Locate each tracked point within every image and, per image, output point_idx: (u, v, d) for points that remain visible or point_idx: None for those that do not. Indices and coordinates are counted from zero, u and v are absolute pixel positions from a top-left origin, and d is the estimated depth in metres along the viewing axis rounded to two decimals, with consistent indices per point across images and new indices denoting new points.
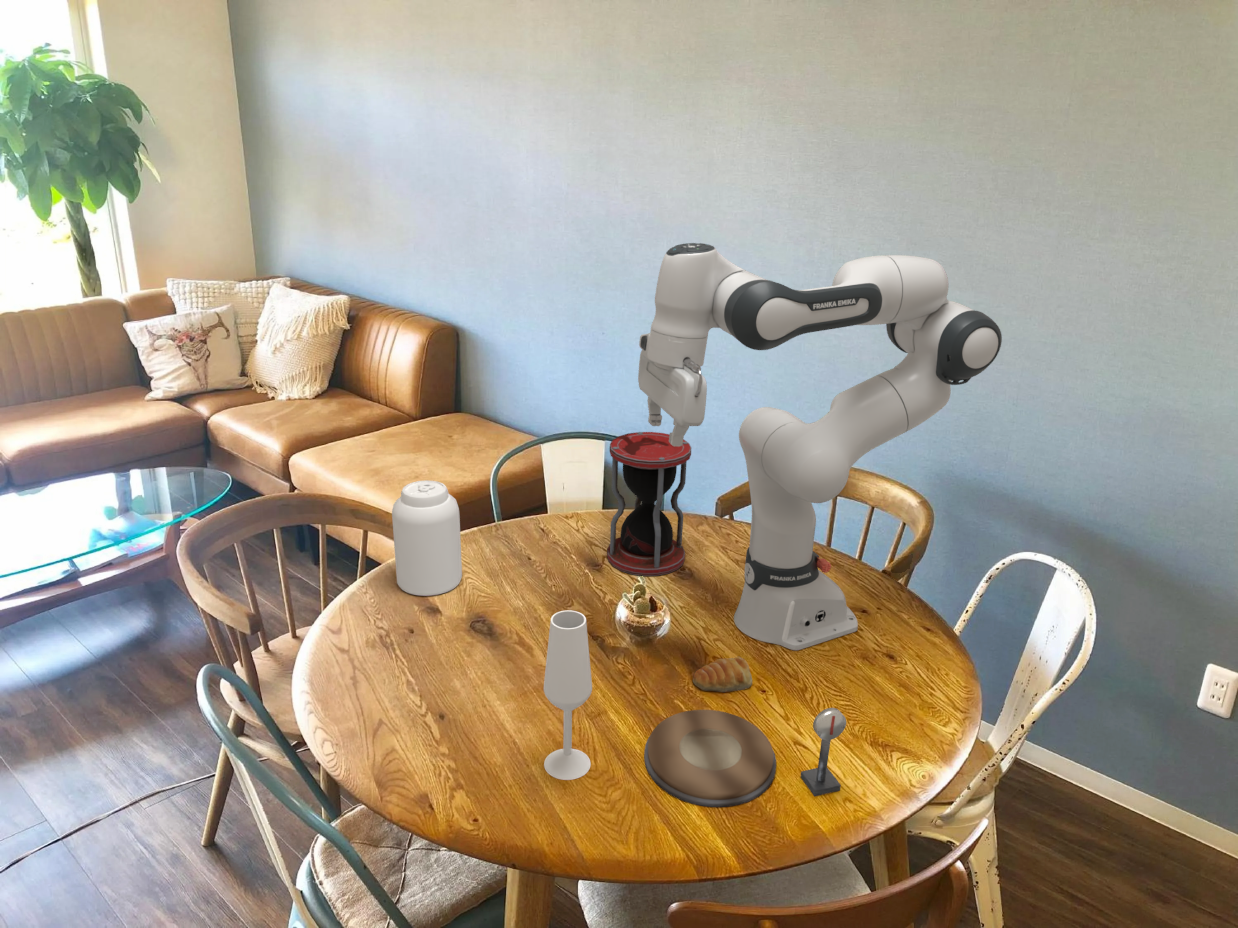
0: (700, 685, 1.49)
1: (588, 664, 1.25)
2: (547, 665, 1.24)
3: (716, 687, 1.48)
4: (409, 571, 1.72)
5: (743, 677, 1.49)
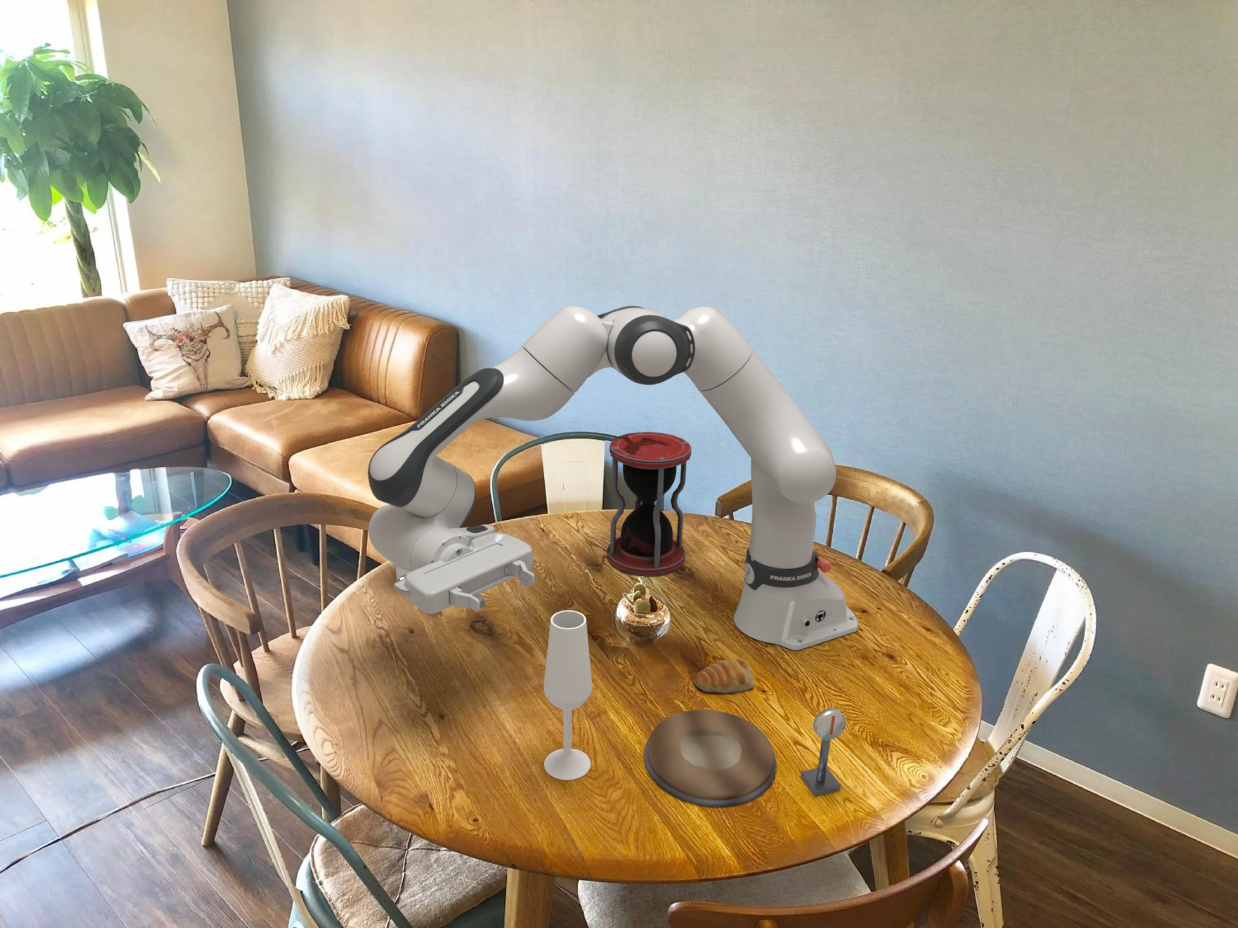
0: (702, 687, 1.48)
1: (588, 664, 1.25)
2: (547, 665, 1.24)
3: (718, 688, 1.48)
4: (409, 571, 1.72)
5: (745, 678, 1.48)
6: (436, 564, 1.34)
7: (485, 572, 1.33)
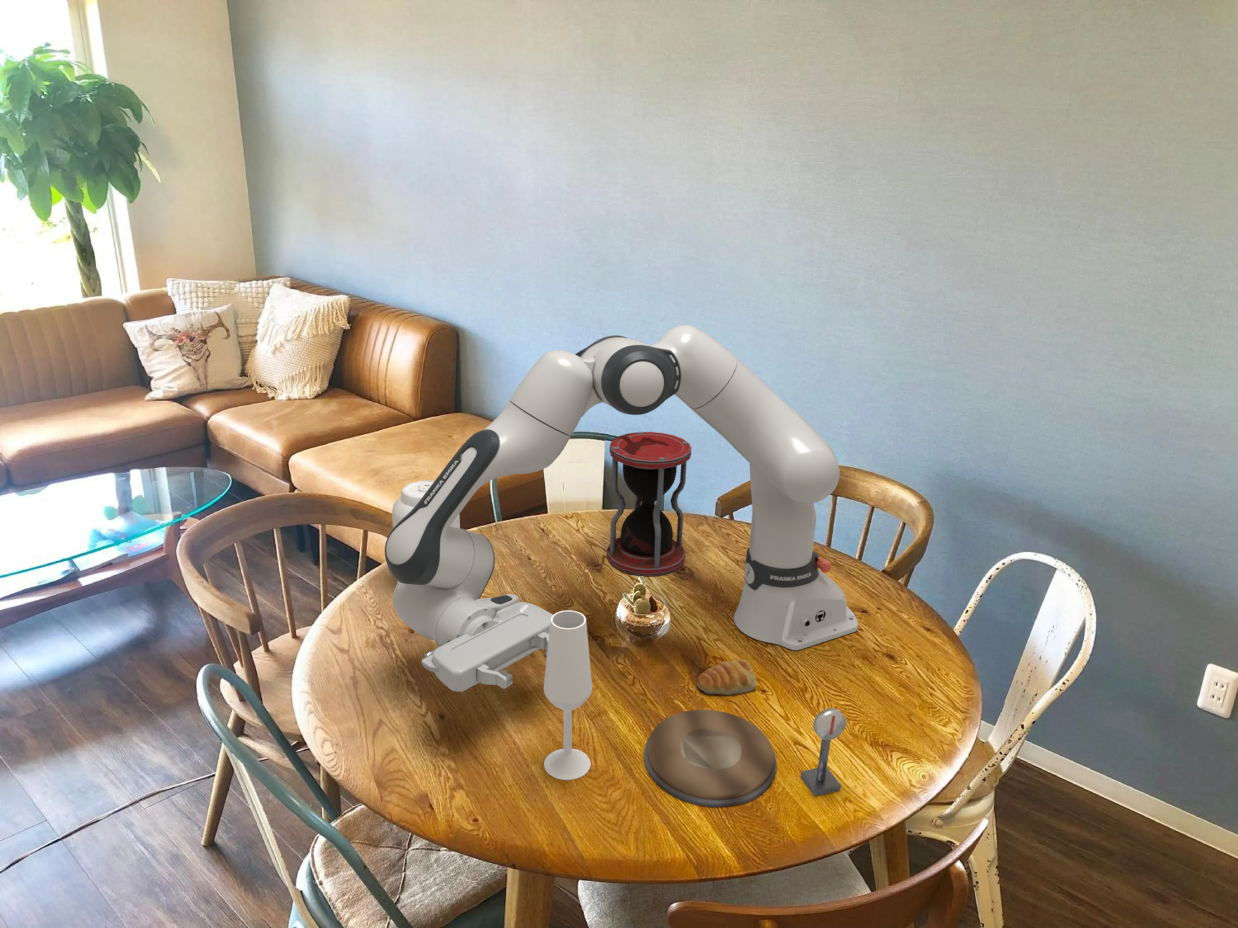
0: (704, 689, 1.48)
1: (588, 664, 1.25)
2: (547, 665, 1.24)
3: (721, 690, 1.47)
4: None
5: (747, 679, 1.48)
6: (462, 639, 1.35)
7: (511, 647, 1.34)
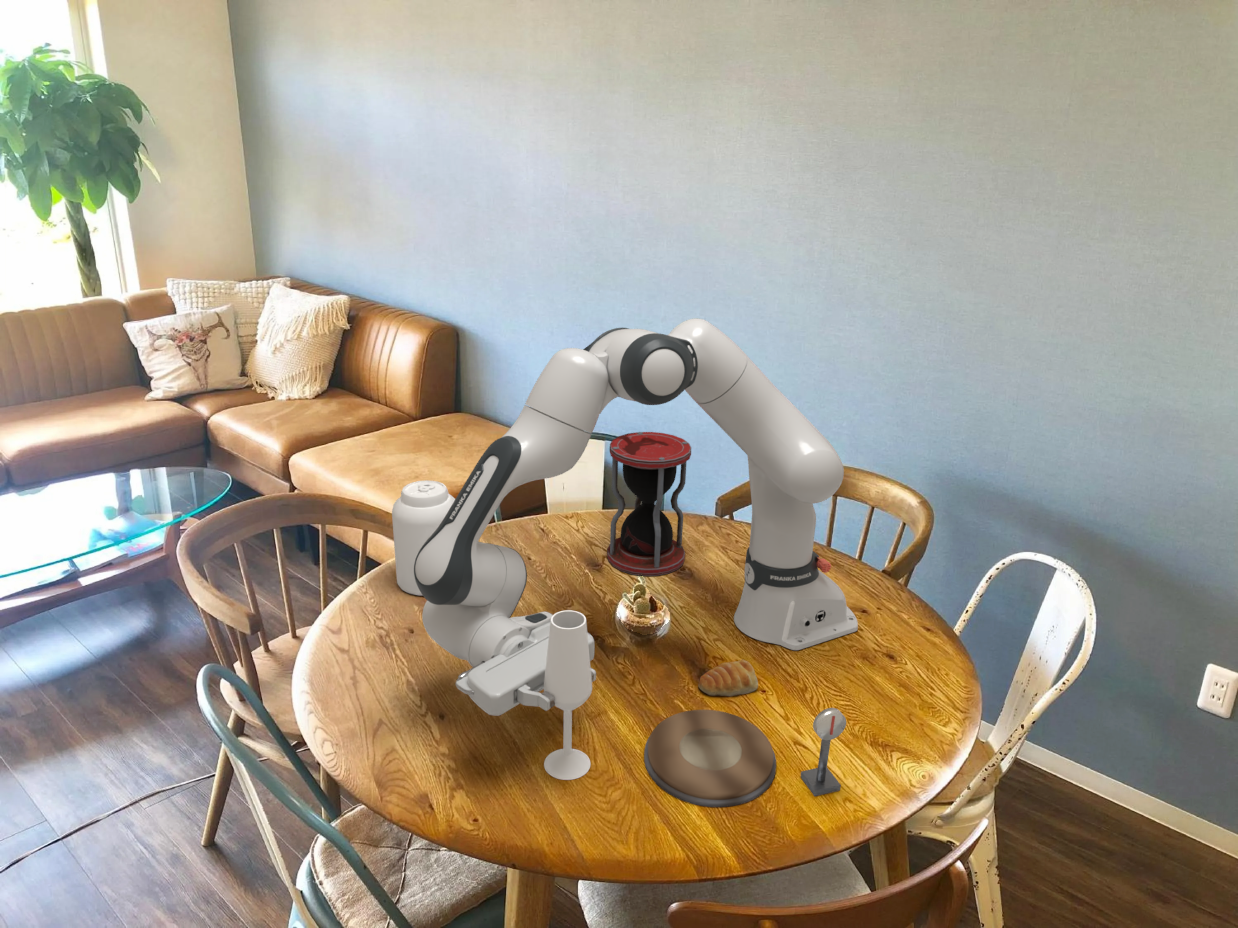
0: (706, 690, 1.47)
1: (588, 664, 1.25)
2: (547, 665, 1.24)
3: (723, 692, 1.47)
4: (409, 571, 1.72)
5: (749, 680, 1.48)
6: (498, 659, 1.30)
7: None
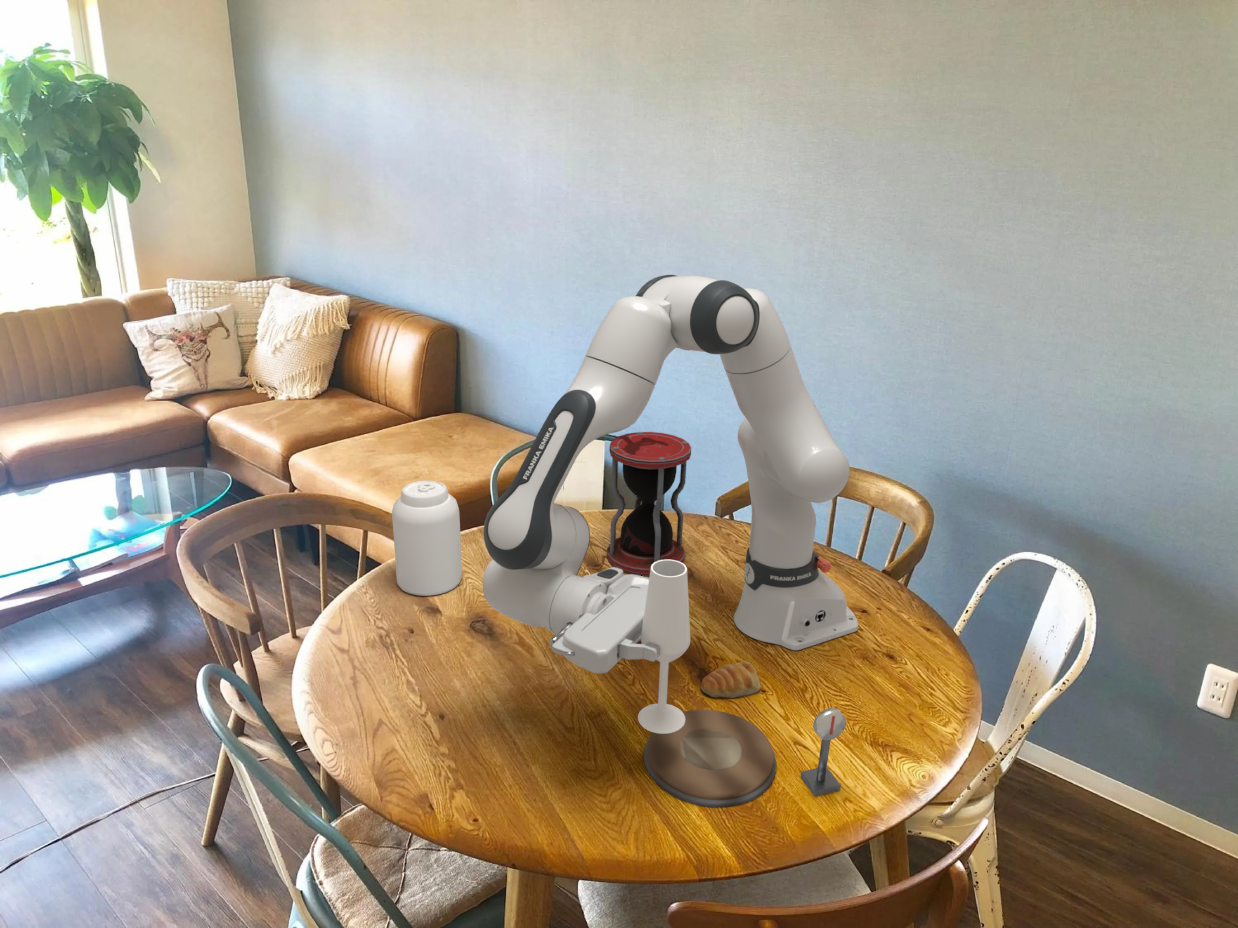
0: (709, 692, 1.47)
1: None
2: (648, 617, 1.21)
3: (726, 693, 1.46)
4: (409, 571, 1.72)
5: (752, 681, 1.48)
6: (587, 618, 1.25)
7: (641, 620, 1.25)
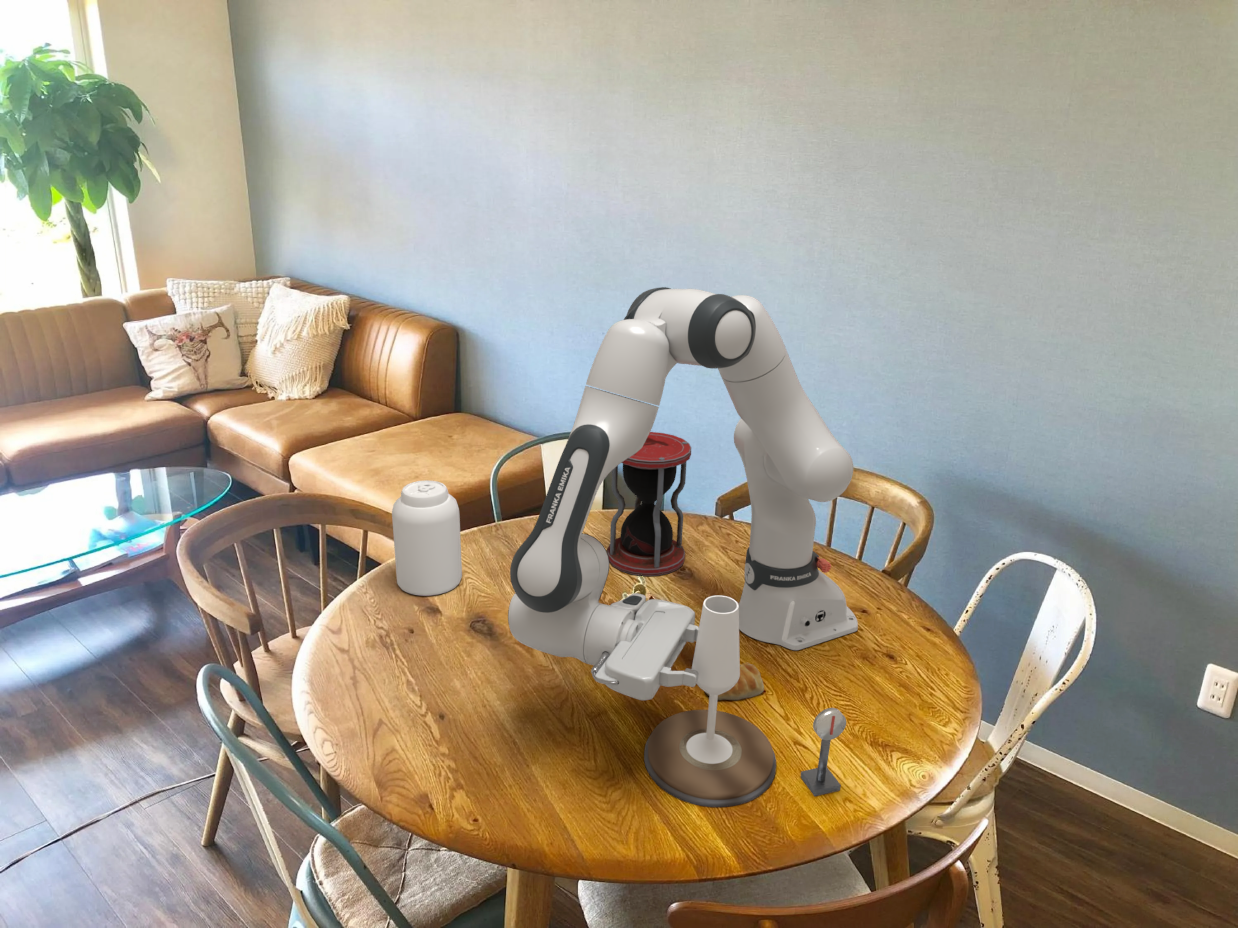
0: None
1: None
2: (702, 653, 1.24)
3: (730, 696, 1.46)
4: (409, 571, 1.72)
5: (756, 683, 1.47)
6: (624, 646, 1.27)
7: (675, 644, 1.29)
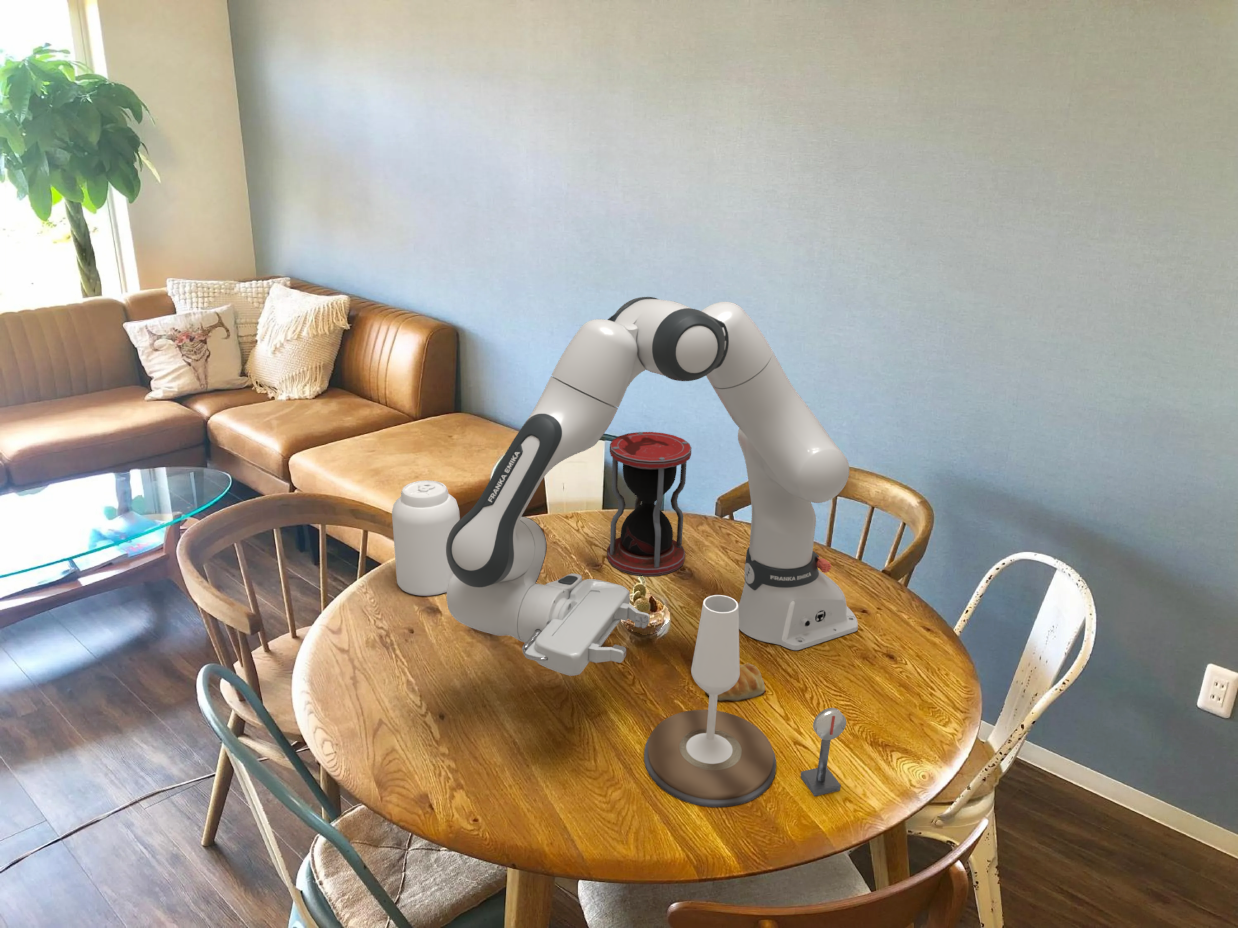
0: None
1: None
2: (702, 653, 1.25)
3: (731, 696, 1.46)
4: (409, 571, 1.72)
5: (756, 683, 1.47)
6: (555, 624, 1.31)
7: (606, 622, 1.32)
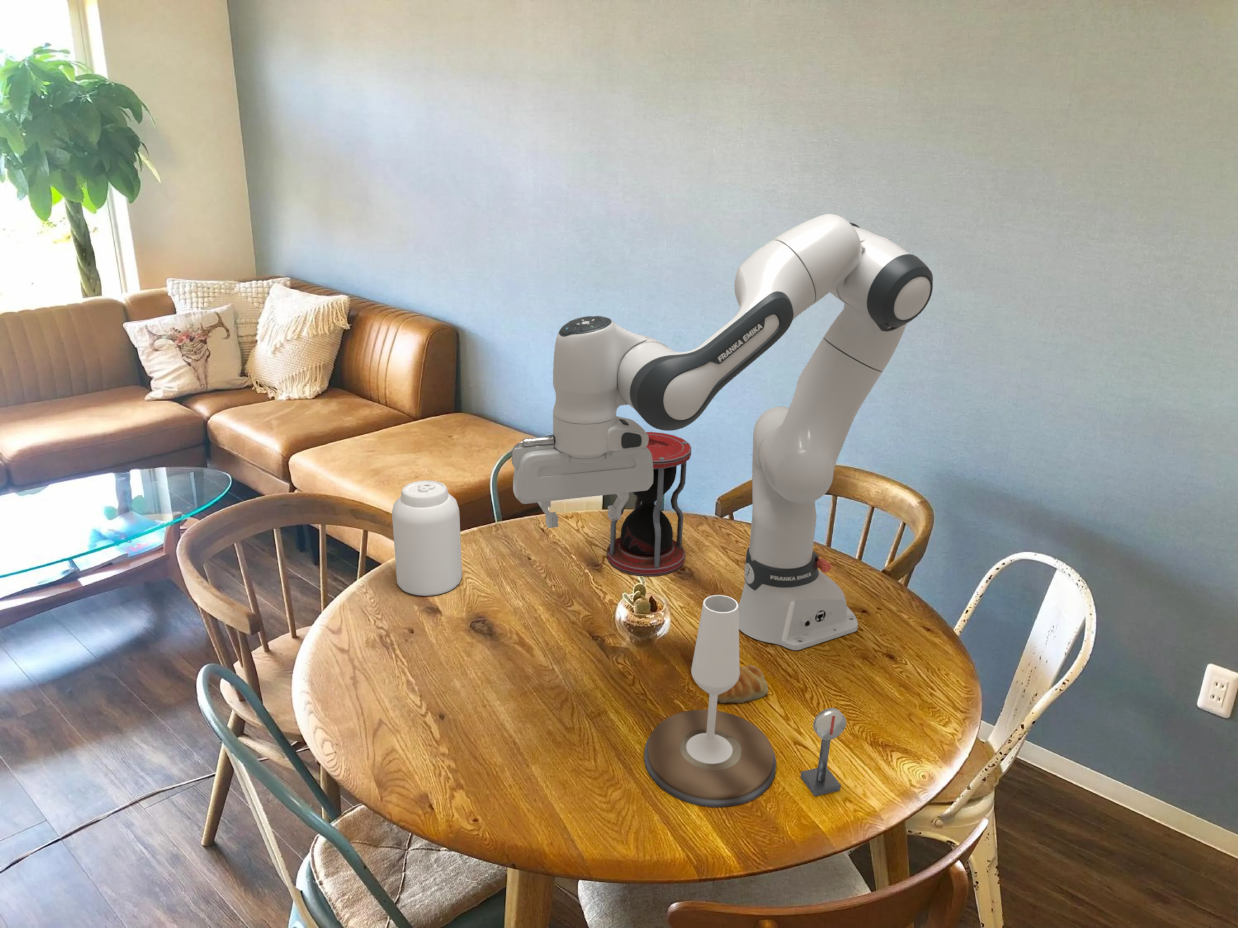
0: (718, 698, 1.45)
1: None
2: (702, 653, 1.25)
3: (735, 698, 1.45)
4: (409, 571, 1.72)
5: (760, 685, 1.47)
6: (560, 460, 1.27)
7: (586, 496, 1.31)
